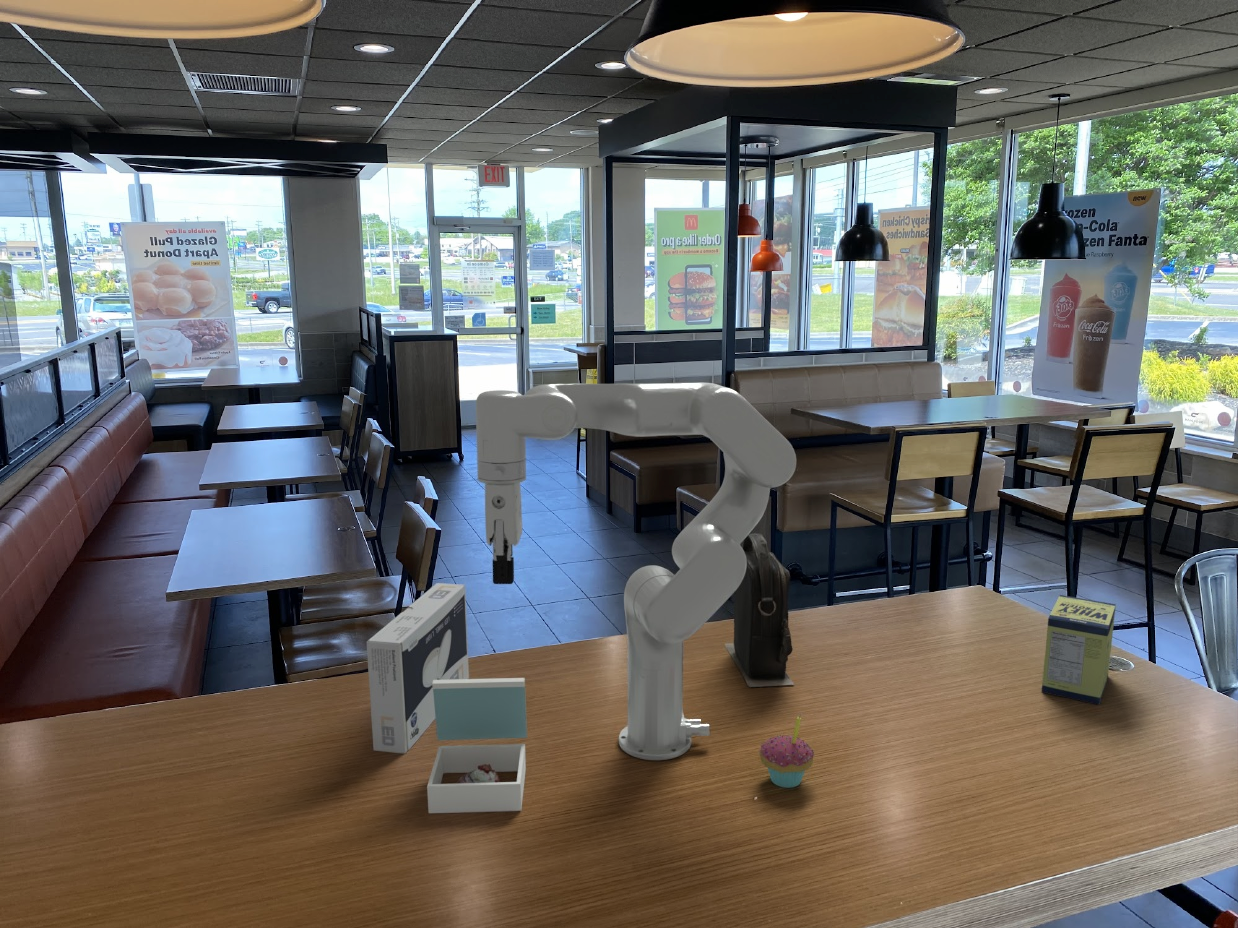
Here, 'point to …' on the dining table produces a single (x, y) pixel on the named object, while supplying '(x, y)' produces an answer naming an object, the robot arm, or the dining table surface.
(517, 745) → the box
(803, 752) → the cupcake
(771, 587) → the shoulder bag
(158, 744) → the dining table surface
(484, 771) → the pastry
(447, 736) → the lid
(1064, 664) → the protein box
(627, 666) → the robot arm
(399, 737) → the packaging
